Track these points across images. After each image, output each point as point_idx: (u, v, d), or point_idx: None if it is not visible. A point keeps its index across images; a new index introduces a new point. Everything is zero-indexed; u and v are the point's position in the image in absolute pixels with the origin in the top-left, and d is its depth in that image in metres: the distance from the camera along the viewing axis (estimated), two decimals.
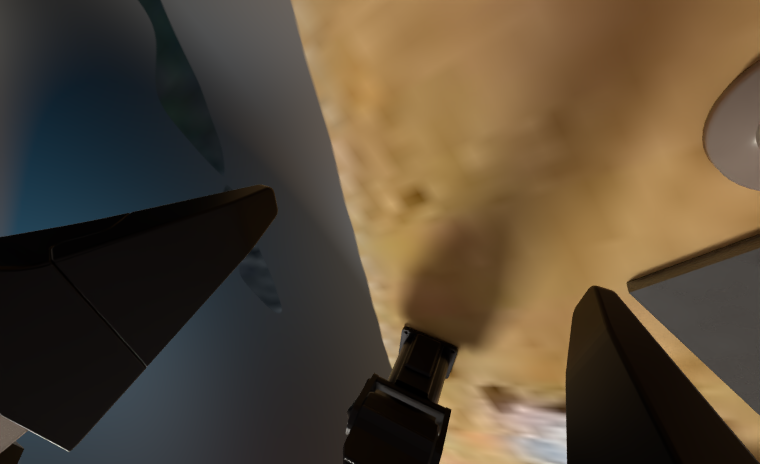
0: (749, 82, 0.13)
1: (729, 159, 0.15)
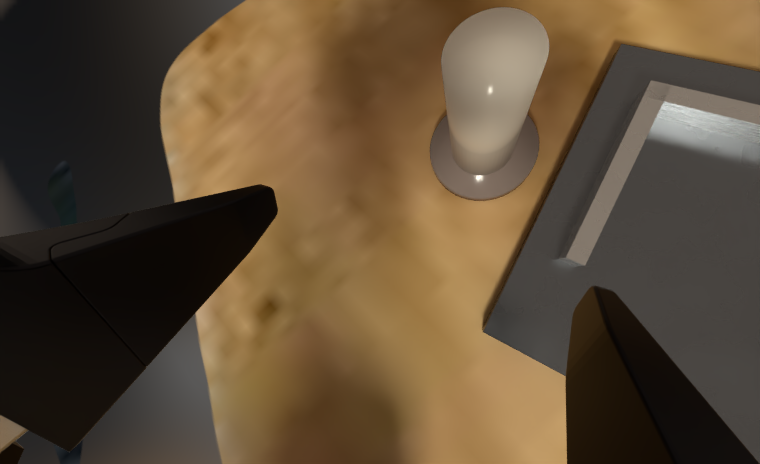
0: (432, 142, 0.22)
1: (456, 183, 0.21)
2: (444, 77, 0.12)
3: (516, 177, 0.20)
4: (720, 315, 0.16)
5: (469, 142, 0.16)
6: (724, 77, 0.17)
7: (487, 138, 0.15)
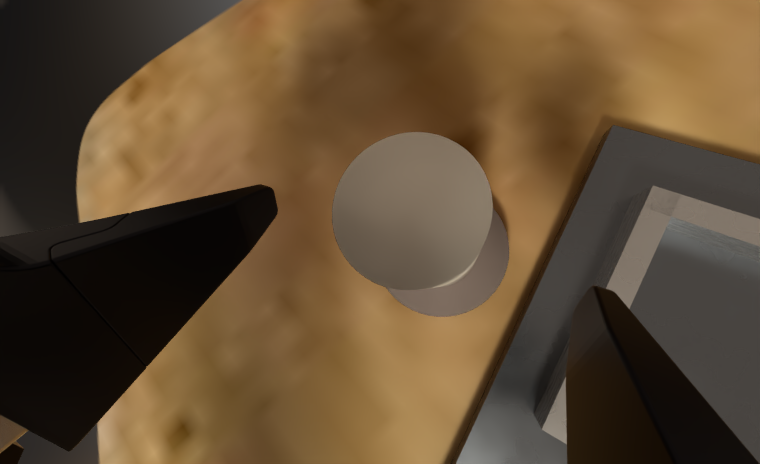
0: None
1: (406, 294, 0.16)
2: (337, 235, 0.08)
3: (480, 293, 0.15)
4: None
5: None
6: (750, 179, 0.13)
7: None
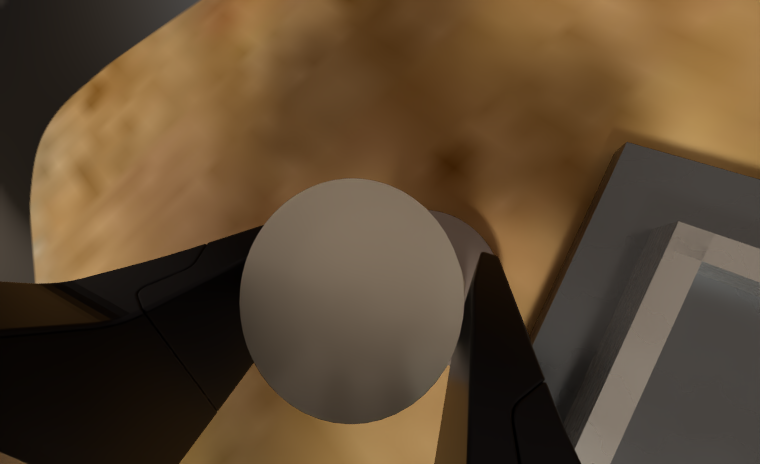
0: None
1: None
2: (246, 325, 0.06)
3: None
4: None
5: None
6: None
7: None
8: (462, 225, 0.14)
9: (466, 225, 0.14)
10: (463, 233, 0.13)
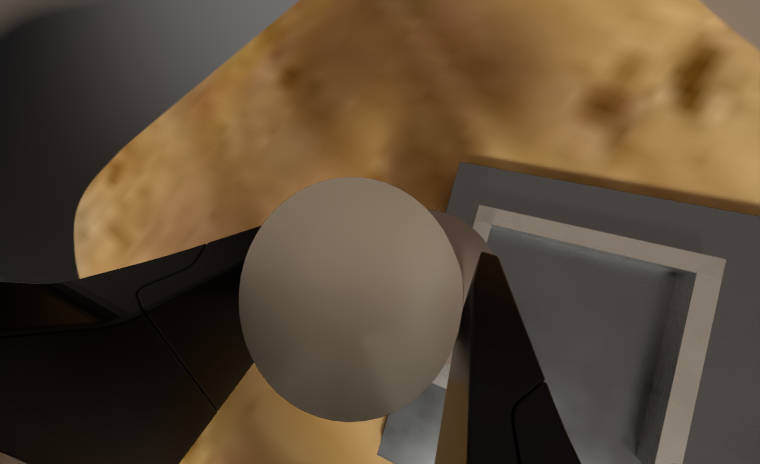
0: None
1: None
2: (245, 324, 0.06)
3: None
4: (573, 419, 0.17)
5: None
6: (545, 189, 0.19)
7: None
8: (461, 224, 0.14)
9: (465, 224, 0.14)
10: (462, 232, 0.13)
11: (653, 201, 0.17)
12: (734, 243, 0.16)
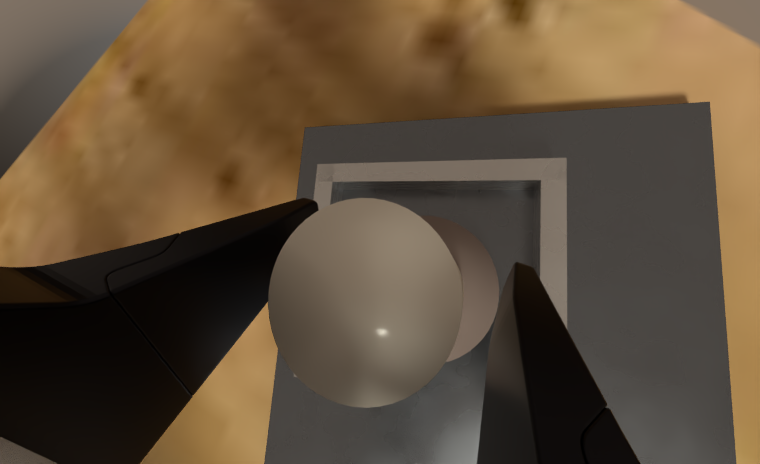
0: None
1: None
2: (274, 324, 0.06)
3: (467, 340, 0.14)
4: (459, 382, 0.14)
5: None
6: (391, 134, 0.17)
7: None
8: (461, 230, 0.14)
9: (465, 230, 0.14)
10: (462, 238, 0.14)
11: (496, 119, 0.16)
12: (583, 143, 0.14)
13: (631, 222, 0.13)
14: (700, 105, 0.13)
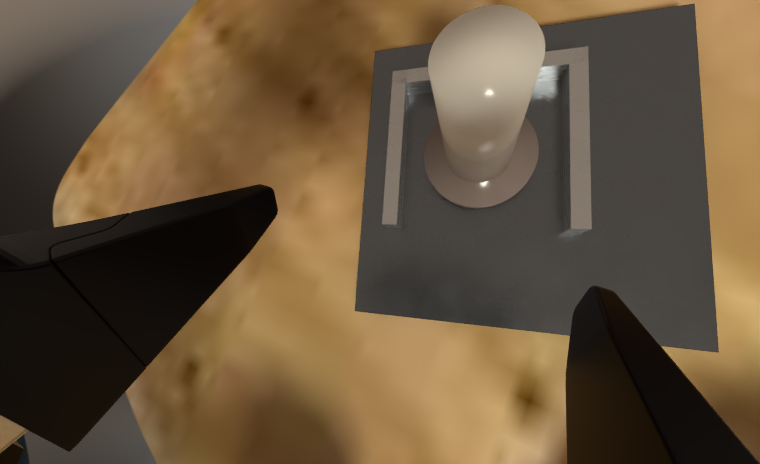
0: (426, 148, 0.21)
1: (452, 191, 0.20)
2: (431, 82, 0.11)
3: (515, 184, 0.19)
4: (508, 221, 0.19)
5: (463, 150, 0.15)
6: None
7: (482, 146, 0.14)
8: None
9: None
10: None
11: None
12: (599, 42, 0.19)
13: (636, 95, 0.18)
14: (687, 6, 0.18)
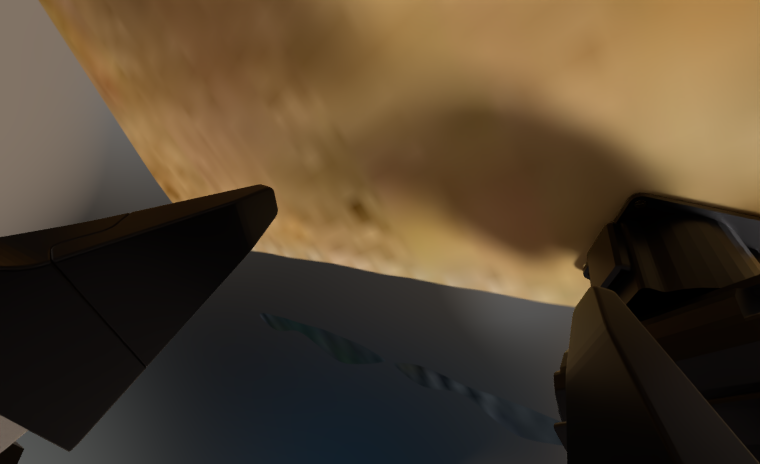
0: None
1: None
2: None
3: None
4: None
5: None
6: None
7: None
8: None
9: None
10: None
11: None
12: None
13: None
14: None
